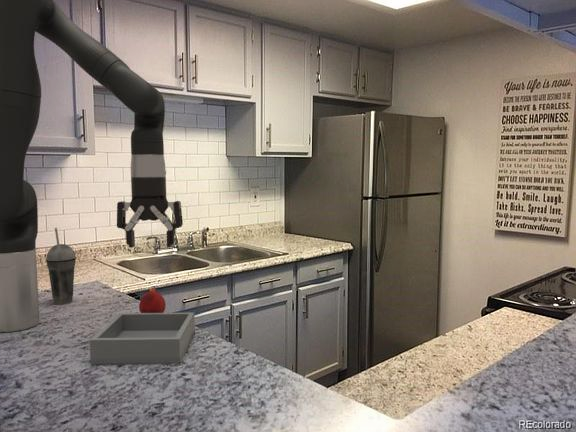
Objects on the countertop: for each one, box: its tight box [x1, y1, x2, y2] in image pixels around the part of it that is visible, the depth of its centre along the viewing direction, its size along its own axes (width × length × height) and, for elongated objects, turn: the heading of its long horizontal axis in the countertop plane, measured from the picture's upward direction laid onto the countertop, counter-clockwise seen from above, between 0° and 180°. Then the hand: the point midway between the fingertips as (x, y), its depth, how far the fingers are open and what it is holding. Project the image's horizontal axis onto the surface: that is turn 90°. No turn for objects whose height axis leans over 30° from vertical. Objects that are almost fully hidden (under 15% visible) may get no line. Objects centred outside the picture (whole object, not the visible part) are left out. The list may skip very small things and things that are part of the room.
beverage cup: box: [45, 227, 77, 306], centre depth 124 cm, size 7×7×20 cm
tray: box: [89, 312, 196, 365], centre depth 92 cm, size 16×16×4 cm
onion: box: [138, 286, 166, 313], centre depth 108 cm, size 6×6×8 cm
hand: (150, 246), depth 107 cm, fingers open, 8 cm apart
